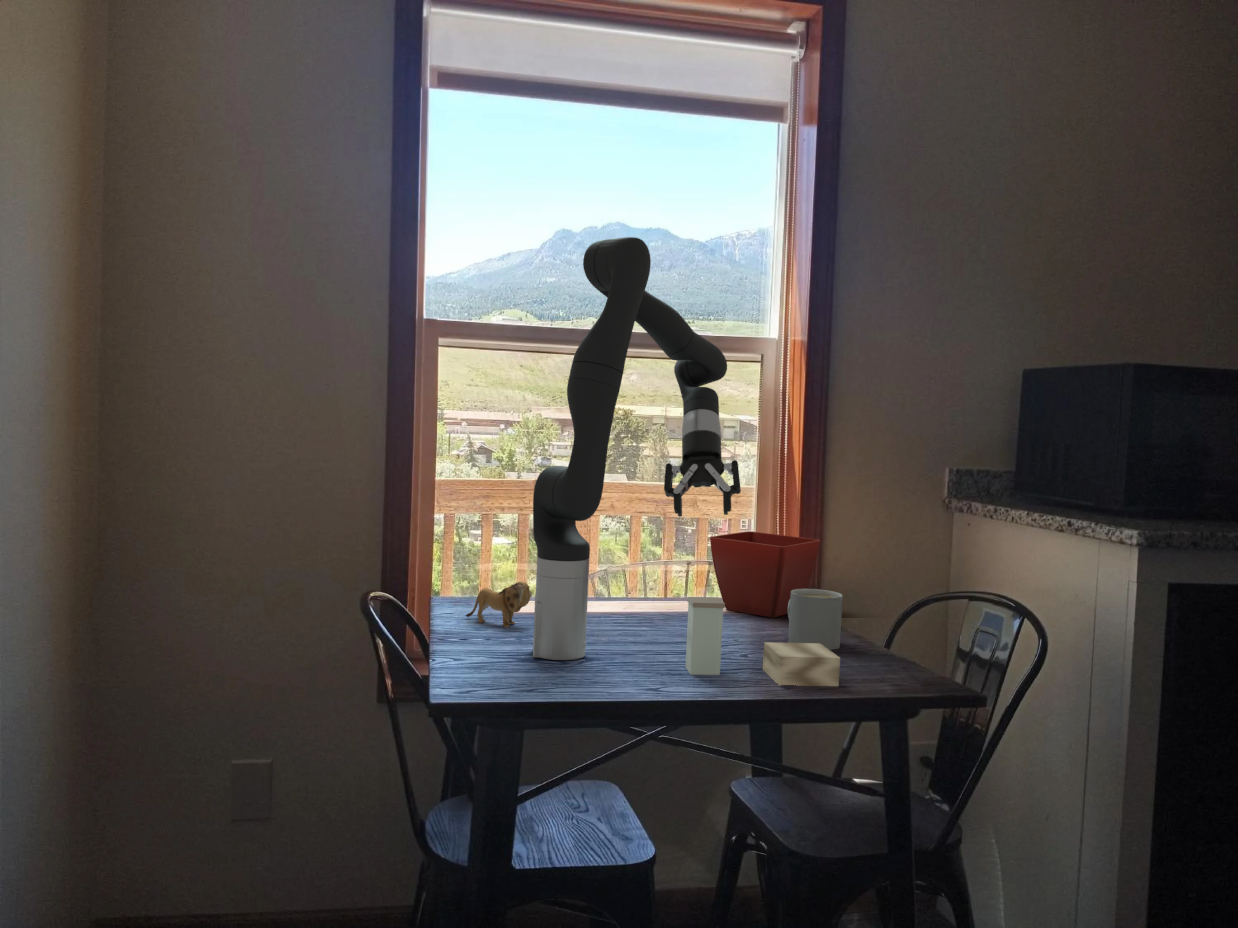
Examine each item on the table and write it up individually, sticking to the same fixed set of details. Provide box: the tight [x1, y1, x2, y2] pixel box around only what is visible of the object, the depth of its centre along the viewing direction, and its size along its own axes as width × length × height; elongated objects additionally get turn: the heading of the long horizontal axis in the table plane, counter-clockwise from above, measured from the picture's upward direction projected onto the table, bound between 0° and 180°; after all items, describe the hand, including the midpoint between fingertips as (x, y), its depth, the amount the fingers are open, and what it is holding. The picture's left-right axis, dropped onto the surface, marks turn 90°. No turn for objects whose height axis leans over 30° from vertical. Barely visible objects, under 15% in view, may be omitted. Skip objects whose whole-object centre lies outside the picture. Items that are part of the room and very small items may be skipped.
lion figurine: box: [465, 581, 533, 628], centre depth 190 cm, size 15×5×9 cm, turn 67°
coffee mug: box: [787, 588, 844, 651], centre depth 186 cm, size 13×10×10 cm
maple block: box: [762, 641, 841, 687], centre depth 159 cm, size 10×10×5 cm
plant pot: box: [709, 530, 821, 618], centre depth 217 cm, size 19×19×17 cm
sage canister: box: [685, 596, 726, 676], centre depth 160 cm, size 5×5×12 cm
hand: (702, 513), depth 175 cm, fingers open, 8 cm apart
